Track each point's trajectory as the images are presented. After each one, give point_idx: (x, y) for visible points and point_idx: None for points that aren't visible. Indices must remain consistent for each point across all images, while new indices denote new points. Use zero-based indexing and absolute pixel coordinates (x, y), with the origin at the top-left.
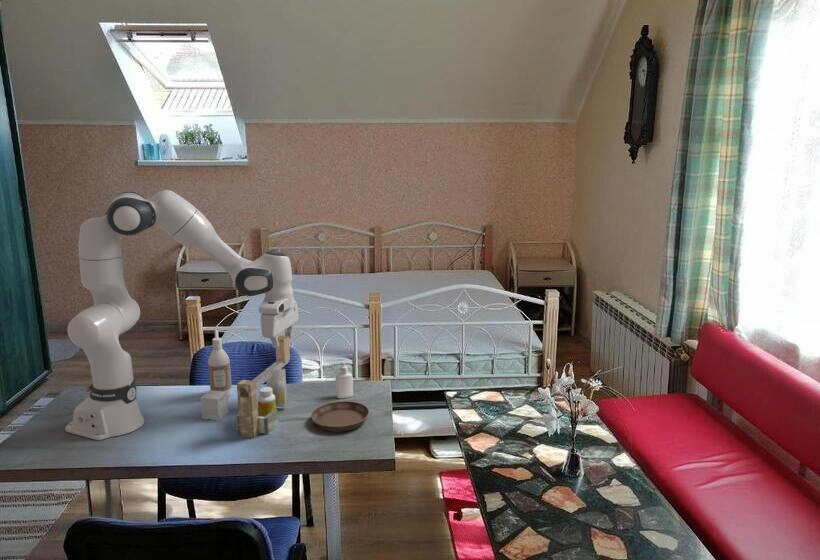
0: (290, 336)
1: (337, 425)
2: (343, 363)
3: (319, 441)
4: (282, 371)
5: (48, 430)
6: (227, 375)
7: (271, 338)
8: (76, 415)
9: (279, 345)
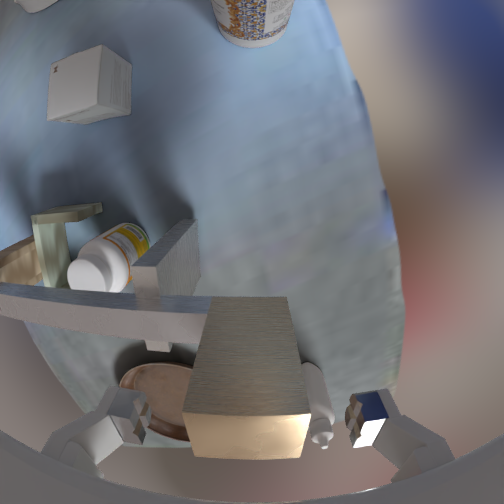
0: (352, 428)
1: (157, 397)
2: (321, 447)
3: (97, 377)
4: (148, 345)
5: None
6: (240, 15)
7: (58, 441)
8: None
9: (145, 421)
